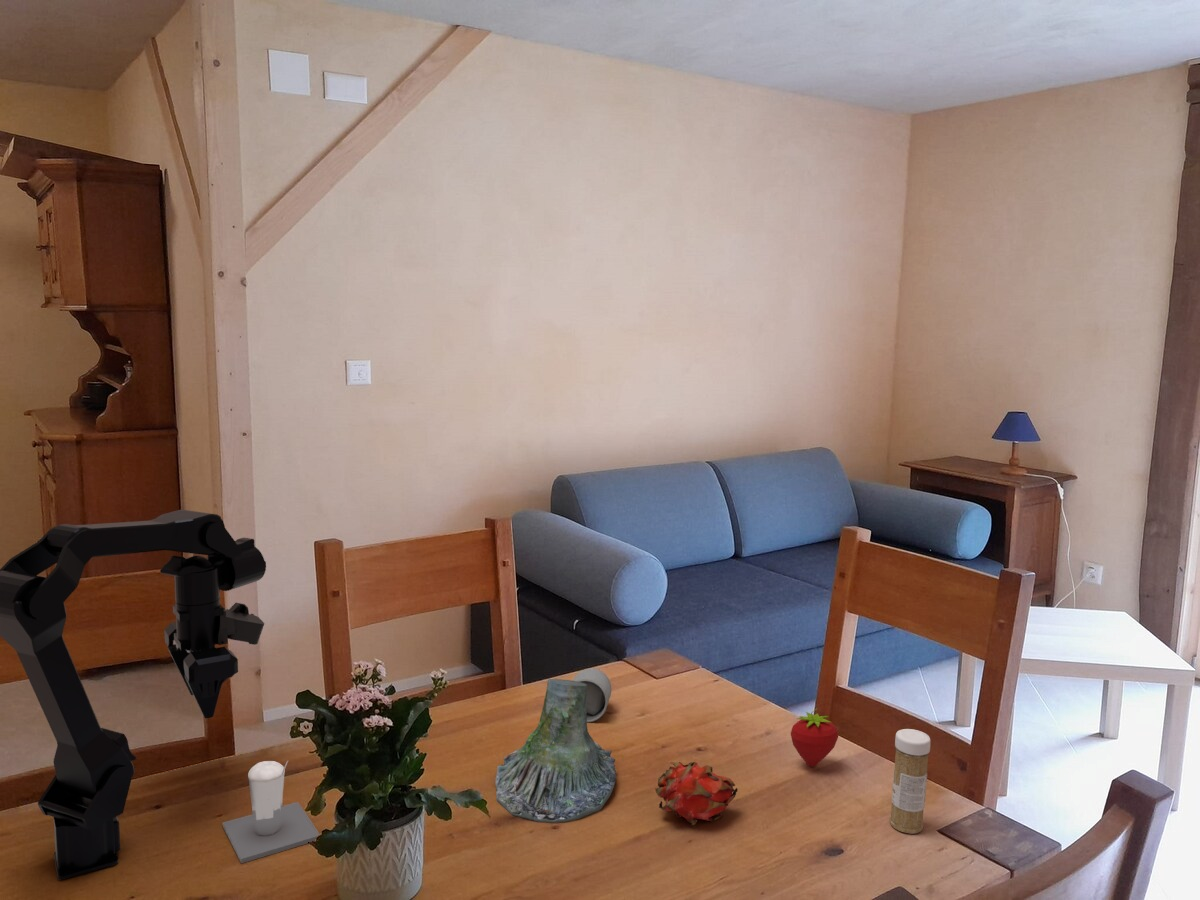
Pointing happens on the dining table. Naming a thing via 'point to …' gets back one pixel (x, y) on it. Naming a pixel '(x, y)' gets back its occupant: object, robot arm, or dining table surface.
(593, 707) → the ceramic mug
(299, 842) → the coaster
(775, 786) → the dining table surface
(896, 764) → the spice jar
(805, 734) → the strawberry
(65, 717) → the robot arm
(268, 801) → the milkshake
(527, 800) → the tree stump
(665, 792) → the dragon fruit
